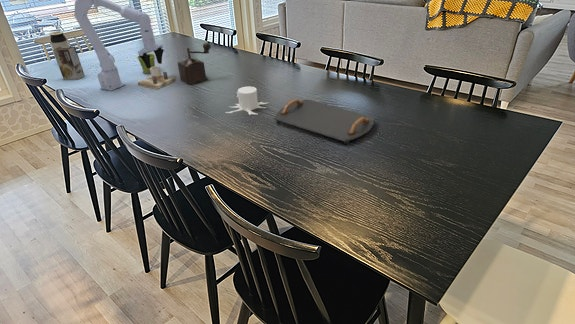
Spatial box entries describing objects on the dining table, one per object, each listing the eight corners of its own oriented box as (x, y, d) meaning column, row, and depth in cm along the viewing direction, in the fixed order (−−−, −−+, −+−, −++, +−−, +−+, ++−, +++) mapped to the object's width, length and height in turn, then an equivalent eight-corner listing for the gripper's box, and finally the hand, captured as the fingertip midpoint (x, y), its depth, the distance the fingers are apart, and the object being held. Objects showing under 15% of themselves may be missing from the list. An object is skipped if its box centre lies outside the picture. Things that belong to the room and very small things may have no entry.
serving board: (267, 123, 153) (266, 108, 150) (301, 103, 169) (300, 90, 165) (352, 150, 133) (353, 134, 130) (381, 125, 148) (383, 110, 145)
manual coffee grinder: (189, 85, 190) (182, 49, 181) (179, 79, 198) (173, 45, 188) (216, 78, 198) (211, 43, 189) (206, 73, 206) (201, 39, 196)
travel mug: (69, 65, 226) (59, 34, 216) (56, 65, 226) (45, 34, 216) (76, 60, 233) (66, 30, 223) (63, 61, 233) (53, 31, 223)
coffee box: (85, 75, 209) (75, 46, 200) (78, 79, 203) (68, 49, 195) (69, 75, 210) (59, 46, 201) (62, 79, 204) (51, 49, 196)
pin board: (156, 89, 187) (154, 79, 185) (138, 85, 193) (135, 75, 190) (175, 80, 197) (173, 71, 194) (156, 77, 202) (154, 68, 200)
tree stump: (247, 95, 178) (246, 78, 174) (279, 104, 168) (278, 87, 163) (215, 110, 165) (213, 92, 161) (248, 121, 155) (246, 103, 150)
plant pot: (155, 74, 206) (151, 58, 202) (138, 74, 207) (134, 59, 202) (160, 68, 214) (157, 53, 210) (144, 69, 215) (140, 53, 210)
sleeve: (156, 79, 195) (154, 70, 192) (149, 78, 197) (147, 68, 195) (163, 76, 199) (161, 67, 196) (157, 75, 201) (154, 65, 198)
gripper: (142, 43, 180) (149, 71, 188) (164, 35, 191) (170, 62, 198) (132, 41, 183) (139, 69, 191) (154, 34, 194) (160, 60, 201)
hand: (154, 65), depth 195 cm, fingers open, 7 cm apart
